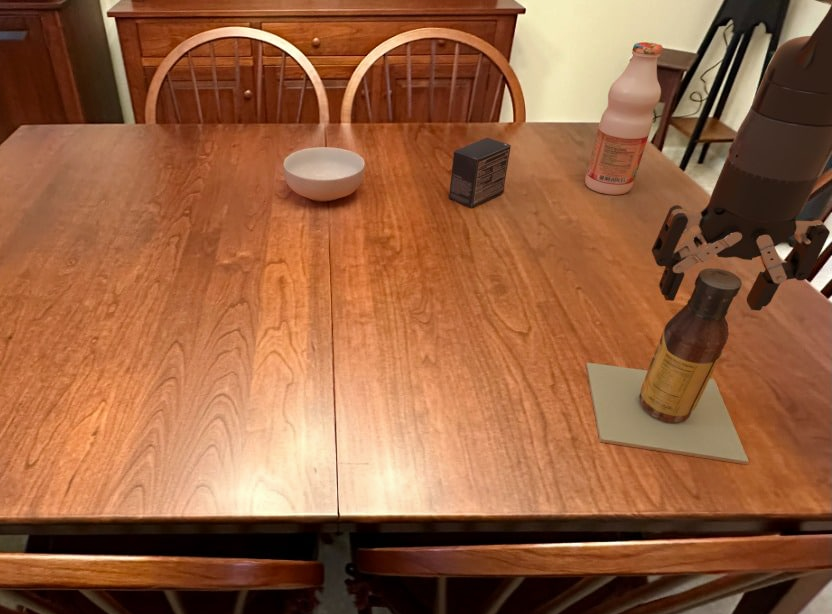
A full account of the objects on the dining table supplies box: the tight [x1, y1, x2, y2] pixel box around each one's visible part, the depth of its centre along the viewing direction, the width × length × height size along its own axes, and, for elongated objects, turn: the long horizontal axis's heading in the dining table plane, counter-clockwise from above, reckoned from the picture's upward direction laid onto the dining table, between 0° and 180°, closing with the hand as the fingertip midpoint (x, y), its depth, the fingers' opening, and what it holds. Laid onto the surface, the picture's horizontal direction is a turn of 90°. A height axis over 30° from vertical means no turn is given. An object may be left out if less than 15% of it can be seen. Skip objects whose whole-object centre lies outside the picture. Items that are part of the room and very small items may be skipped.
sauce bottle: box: [639, 267, 742, 422], centre depth 70 cm, size 6×6×20 cm
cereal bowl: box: [282, 146, 366, 203], centre depth 125 cm, size 17×17×7 cm
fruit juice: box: [584, 41, 663, 196], centre depth 119 cm, size 9×9×28 cm
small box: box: [448, 137, 512, 209], centre depth 122 cm, size 11×6×10 cm, turn 130°
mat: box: [585, 362, 750, 465], centre depth 76 cm, size 16×14×1 cm
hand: (709, 301), depth 66 cm, fingers open, 8 cm apart
